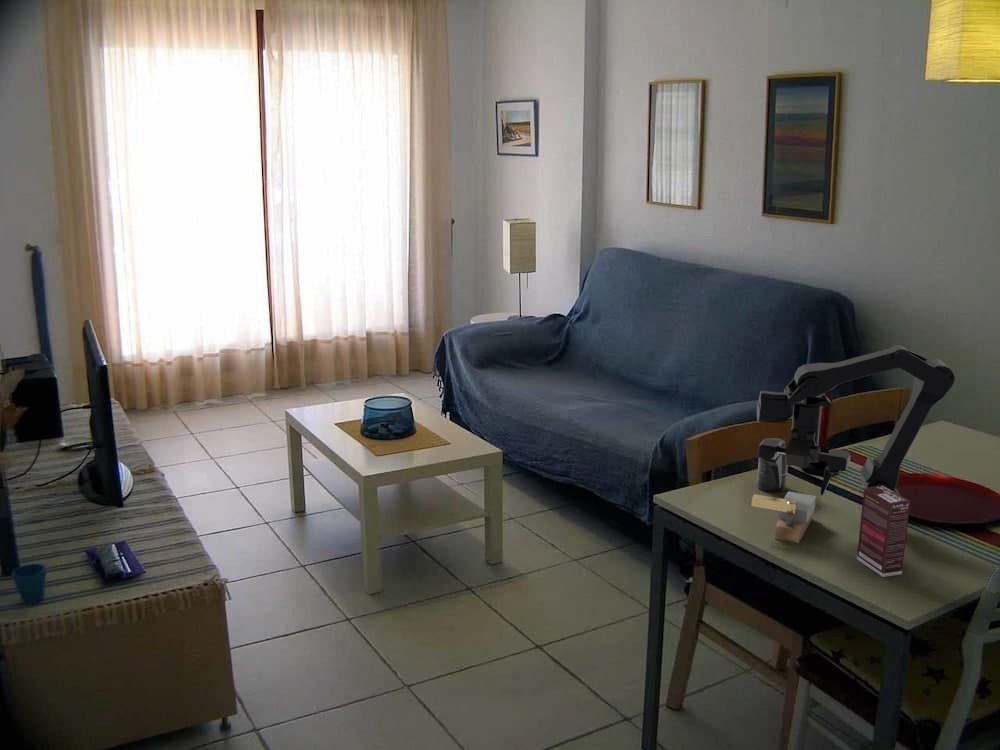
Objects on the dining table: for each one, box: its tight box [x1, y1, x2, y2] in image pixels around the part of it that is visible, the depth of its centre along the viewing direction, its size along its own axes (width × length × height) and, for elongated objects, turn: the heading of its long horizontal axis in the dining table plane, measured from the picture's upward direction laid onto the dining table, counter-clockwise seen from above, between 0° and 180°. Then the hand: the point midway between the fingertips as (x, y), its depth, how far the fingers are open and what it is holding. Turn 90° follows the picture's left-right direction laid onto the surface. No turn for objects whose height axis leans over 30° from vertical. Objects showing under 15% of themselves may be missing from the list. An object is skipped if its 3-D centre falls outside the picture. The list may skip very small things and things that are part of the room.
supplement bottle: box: [756, 437, 789, 493], centre depth 232 cm, size 7×7×12 cm
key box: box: [774, 513, 814, 544], centre depth 210 cm, size 5×14×6 cm, turn 151°
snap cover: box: [777, 491, 817, 524], centre depth 211 cm, size 6×9×3 cm, turn 151°
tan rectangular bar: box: [751, 494, 797, 513], centre depth 206 cm, size 2×9×2 cm, turn 64°
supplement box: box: [856, 486, 911, 578], centre depth 192 cm, size 9×5×16 cm, turn 17°
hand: (800, 490), depth 211 cm, fingers open, 9 cm apart
